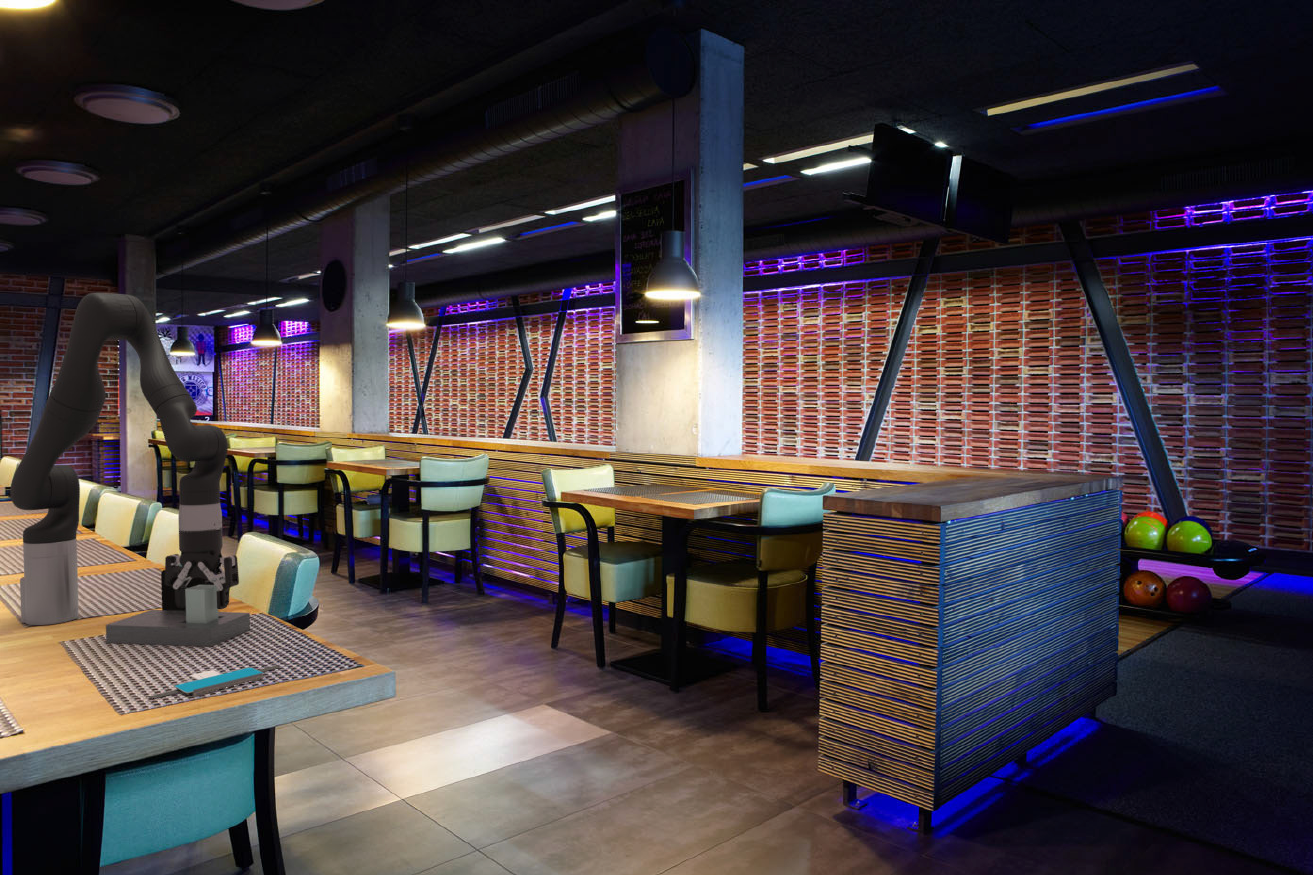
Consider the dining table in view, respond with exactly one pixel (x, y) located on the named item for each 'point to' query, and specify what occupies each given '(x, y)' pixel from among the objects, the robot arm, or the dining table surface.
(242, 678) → the teal bar with rods
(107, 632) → the grey peg hole base
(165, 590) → the electronic device
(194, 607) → the sage green square post
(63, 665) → the dining table surface
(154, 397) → the robot arm
